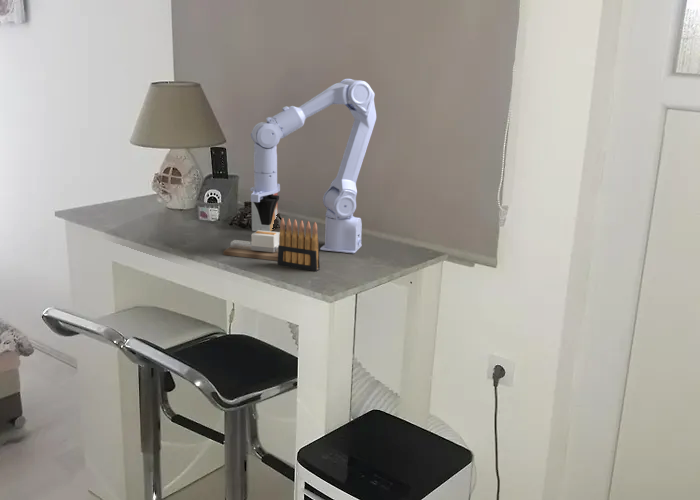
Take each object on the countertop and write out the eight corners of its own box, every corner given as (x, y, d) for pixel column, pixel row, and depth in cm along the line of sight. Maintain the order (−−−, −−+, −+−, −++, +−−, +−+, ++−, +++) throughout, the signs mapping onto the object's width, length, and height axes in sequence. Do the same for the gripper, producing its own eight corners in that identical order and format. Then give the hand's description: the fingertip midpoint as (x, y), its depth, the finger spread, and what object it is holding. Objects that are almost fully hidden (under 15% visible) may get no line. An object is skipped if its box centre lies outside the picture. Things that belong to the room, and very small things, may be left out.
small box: (270, 232, 199) (269, 196, 196) (251, 231, 200) (250, 195, 197) (278, 226, 207) (278, 191, 204) (260, 224, 208) (259, 190, 205)
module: (280, 247, 180) (279, 231, 179) (273, 252, 176) (273, 235, 175) (258, 245, 182) (258, 229, 181) (251, 250, 178) (251, 233, 177)
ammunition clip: (277, 265, 171) (277, 217, 167) (281, 263, 172) (280, 216, 169) (316, 271, 167) (316, 223, 163) (319, 269, 168) (320, 221, 165)
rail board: (305, 252, 181) (305, 248, 181) (293, 262, 173) (293, 258, 173) (238, 245, 186) (238, 241, 186) (223, 254, 178) (223, 251, 177)
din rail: (299, 252, 178) (299, 246, 178) (295, 254, 176) (295, 249, 175) (234, 245, 183) (234, 239, 182) (230, 247, 180) (230, 242, 180)
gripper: (261, 165, 181) (262, 216, 185) (238, 175, 168) (240, 229, 171) (287, 167, 179) (287, 218, 183) (266, 177, 166) (266, 232, 170)
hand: (266, 224), depth 177 cm, fingers closed
